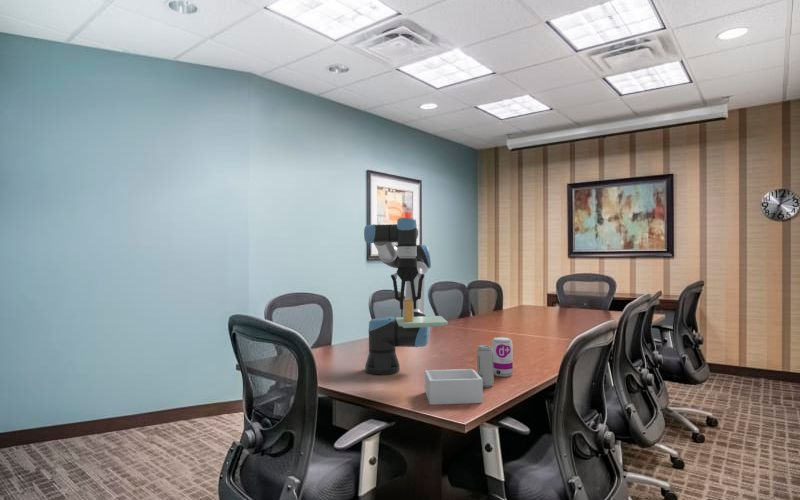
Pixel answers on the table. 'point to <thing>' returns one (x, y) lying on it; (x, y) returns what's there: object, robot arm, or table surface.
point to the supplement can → (502, 356)
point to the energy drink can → (485, 365)
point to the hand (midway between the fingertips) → (408, 317)
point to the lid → (419, 319)
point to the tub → (453, 386)
